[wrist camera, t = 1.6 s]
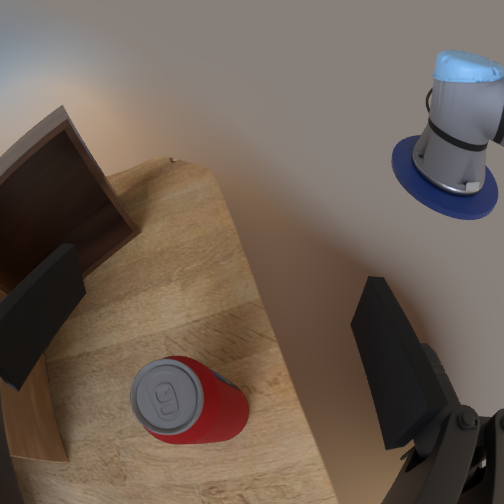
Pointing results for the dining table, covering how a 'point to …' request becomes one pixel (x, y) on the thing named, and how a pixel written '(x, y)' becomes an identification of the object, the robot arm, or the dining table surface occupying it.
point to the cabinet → (56, 202)
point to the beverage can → (187, 402)
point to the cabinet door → (32, 418)
